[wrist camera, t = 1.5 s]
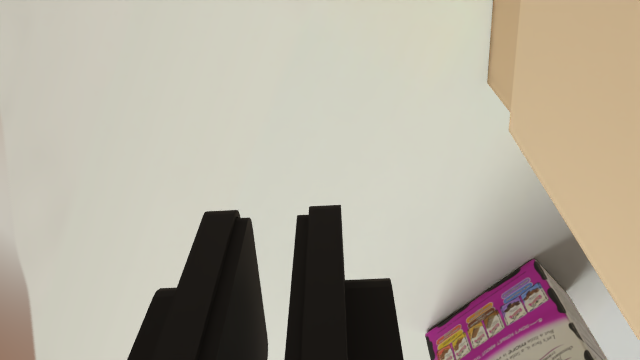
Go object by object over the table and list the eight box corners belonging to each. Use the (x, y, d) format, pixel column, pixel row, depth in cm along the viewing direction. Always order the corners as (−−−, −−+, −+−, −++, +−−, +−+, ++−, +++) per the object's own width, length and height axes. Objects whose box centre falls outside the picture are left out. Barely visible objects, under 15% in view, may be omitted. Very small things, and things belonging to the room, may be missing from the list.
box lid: (805, -173, 11) (762, -170, 11) (666, 339, 17) (638, 339, 17) (552, -147, 26) (533, -145, 26) (523, 130, 32) (508, 130, 32)
